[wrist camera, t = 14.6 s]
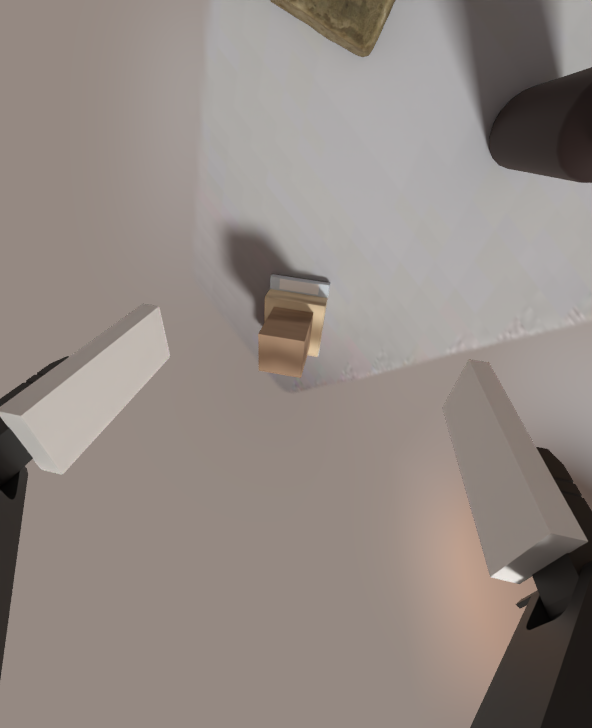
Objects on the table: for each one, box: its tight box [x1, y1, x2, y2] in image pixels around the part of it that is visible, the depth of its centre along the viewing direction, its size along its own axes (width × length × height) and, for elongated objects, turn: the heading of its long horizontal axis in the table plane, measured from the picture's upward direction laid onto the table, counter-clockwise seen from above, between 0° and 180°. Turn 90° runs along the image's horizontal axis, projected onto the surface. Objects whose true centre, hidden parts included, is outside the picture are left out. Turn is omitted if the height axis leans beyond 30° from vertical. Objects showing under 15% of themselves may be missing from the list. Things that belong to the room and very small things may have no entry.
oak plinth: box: [264, 289, 328, 357], centre depth 47 cm, size 9×9×3 cm
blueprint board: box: [270, 274, 330, 355], centre depth 49 cm, size 13×9×1 cm
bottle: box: [489, 67, 592, 183], centre depth 23 cm, size 7×7×20 cm
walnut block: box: [258, 307, 313, 378], centre depth 43 cm, size 6×6×8 cm
